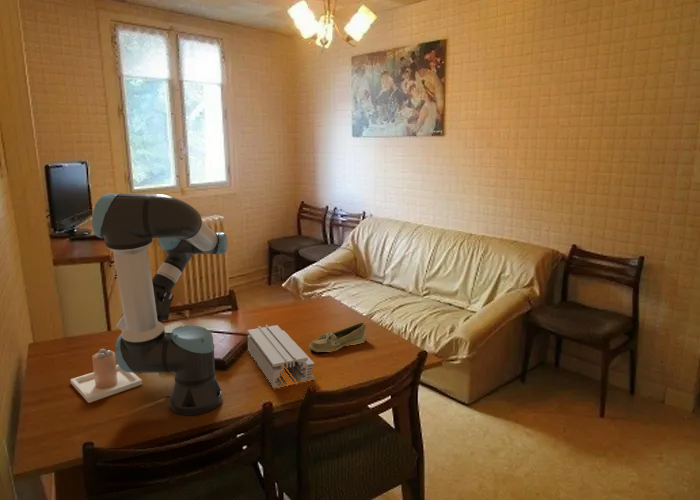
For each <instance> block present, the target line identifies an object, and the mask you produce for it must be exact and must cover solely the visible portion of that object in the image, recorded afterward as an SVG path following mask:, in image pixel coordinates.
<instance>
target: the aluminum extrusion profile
mask: <svg viewBox="0 0 700 500" xmlns="http://www.w3.org/2000/svg"><path fill="white" fill-rule="evenodd" d="M247 333H248V335H247V352H248V351H249V352H250V353H249V352H248V353H249V355H250V354H251V355H250V356H251V358H252V357H253V358H254V359H253V358H252V359H253V361H254V360H255V361H256V362H257V364H258V365H259V367H260V368H261V370H262V371H263V373H264V374H265V376H266V377H267V378H268V380H269V381H268V380H267V381H268V383H269V382H270V383H271V384H270V383H269V384H270V385H272V386H271V387H272V389H273V388H276V385H277V384H278V385H279V386H280V387H282V386H284V385H283V384H282V383H281V381H280V380H279V377H280V378H281V380H282V381H283V383H284V384H285V385H286V384H287V383H286V381H285V380H284V379H283V377H282V376H281V374H280V372H283V371H284V370H285V372H286V373H287V374H288V375H289V377H290V378H291V379H292V381H293V382H294V383H296V382H295V381H294V379H293V378H292V377H291V376H290V374H289V373H288V372H287V371H286V369H285V368H284V365H285V367H286V368H287V369H288V370H289V372H290V373H291V374H292V376H293V377H294V378H295V379H296V381H297V382H302V381H307V380H309V379H315V376H314V374H313V373H312V372H313V371H314V367H315V362H314V361H313V359H311V358H310V356H308V355H307V353H306V352H305V351H304V350H303V349H302V348H301V347H300V346H299V345H298V344H297V342H295V341H294V339H292V338H291V335H290V336H289V334H288V333H287V332H286V331H285V330H282V328H280V326H279V325H278V324H276V325H270V326H268V324H265V326H263V327H261V326H260V325H258V327H257V328H252V329H251V328H250V329H247ZM255 361H254V362H255ZM256 362H255V363H256ZM257 364H256V365H257ZM258 365H257V366H258ZM259 367H258V368H259ZM260 368H259V369H260ZM261 370H260V371H261ZM262 371H261V372H262ZM263 373H262V374H263ZM264 374H263V375H264ZM265 376H264V377H265ZM266 377H265V378H266ZM267 378H266V379H267Z"/></svg>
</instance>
